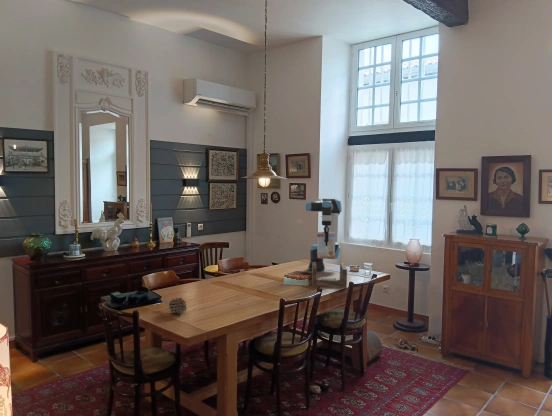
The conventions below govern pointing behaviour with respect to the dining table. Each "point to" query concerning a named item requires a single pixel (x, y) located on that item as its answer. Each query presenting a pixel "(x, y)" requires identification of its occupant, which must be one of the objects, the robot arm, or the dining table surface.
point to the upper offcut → (327, 278)
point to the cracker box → (321, 246)
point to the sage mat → (295, 282)
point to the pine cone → (177, 305)
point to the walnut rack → (330, 283)
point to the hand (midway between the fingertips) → (325, 249)
